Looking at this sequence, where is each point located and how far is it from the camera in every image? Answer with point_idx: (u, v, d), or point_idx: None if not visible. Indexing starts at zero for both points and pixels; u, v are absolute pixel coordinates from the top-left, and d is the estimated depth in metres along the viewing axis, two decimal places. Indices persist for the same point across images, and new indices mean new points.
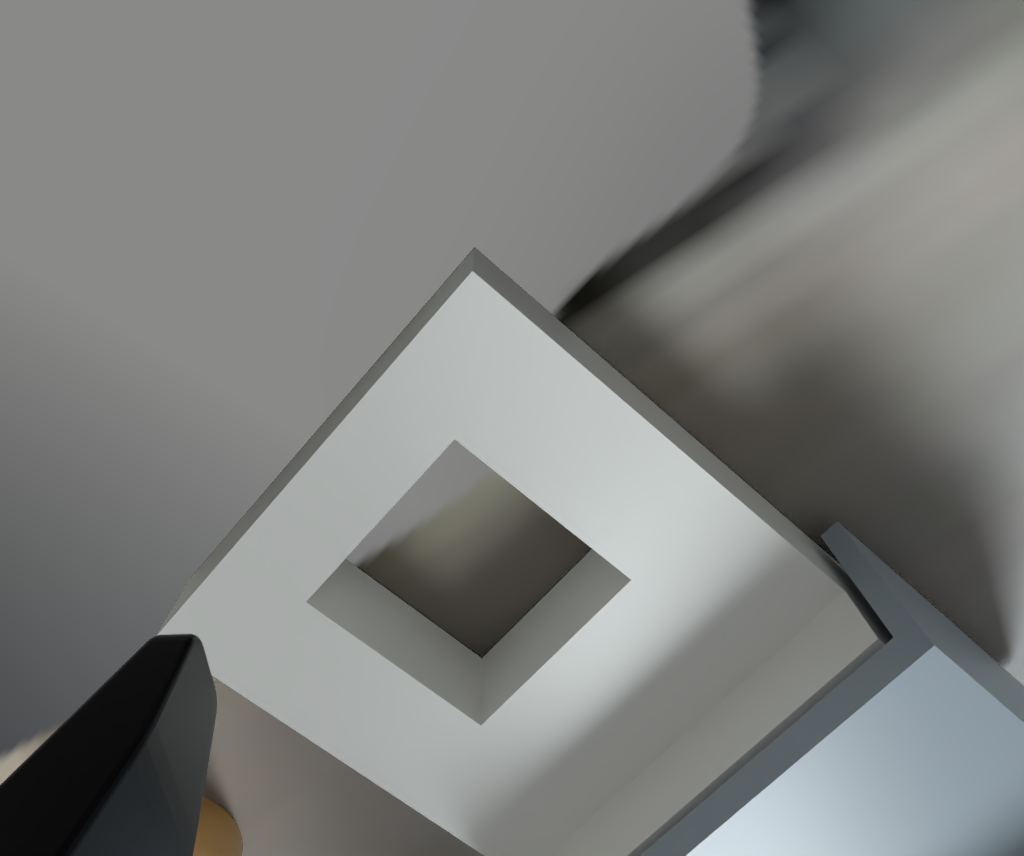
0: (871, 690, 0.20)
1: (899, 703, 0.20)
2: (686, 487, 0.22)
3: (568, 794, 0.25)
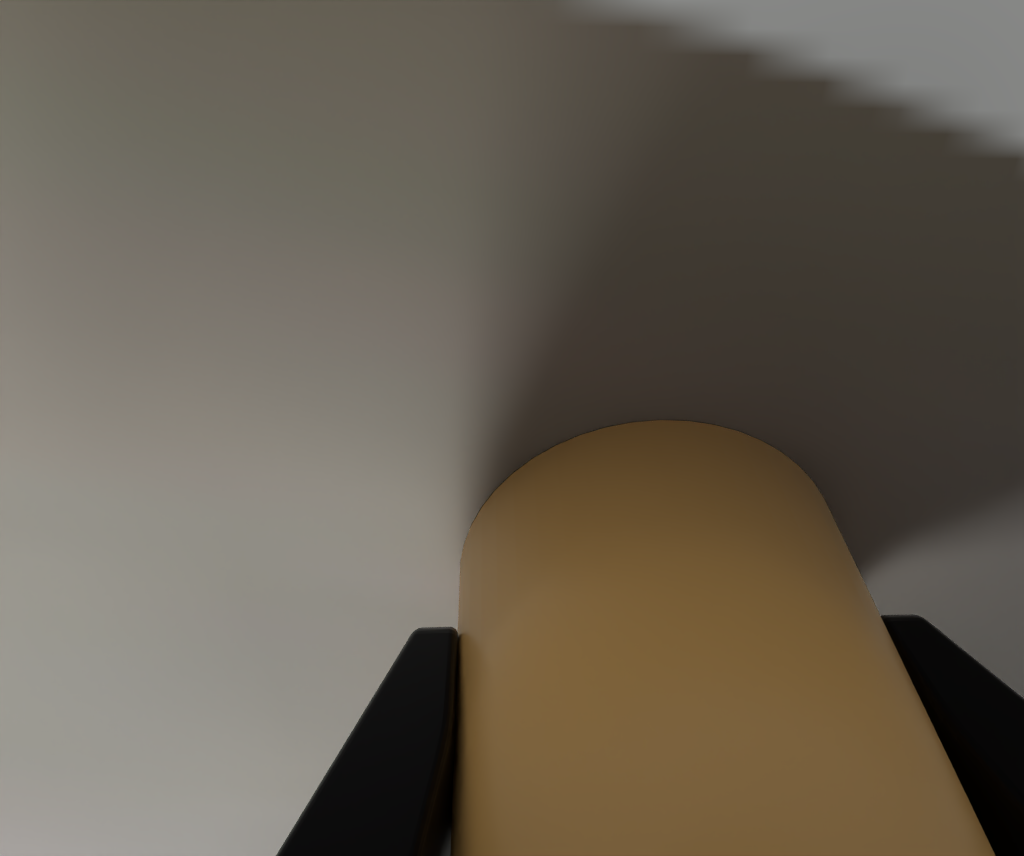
0: None
1: None
2: None
3: None
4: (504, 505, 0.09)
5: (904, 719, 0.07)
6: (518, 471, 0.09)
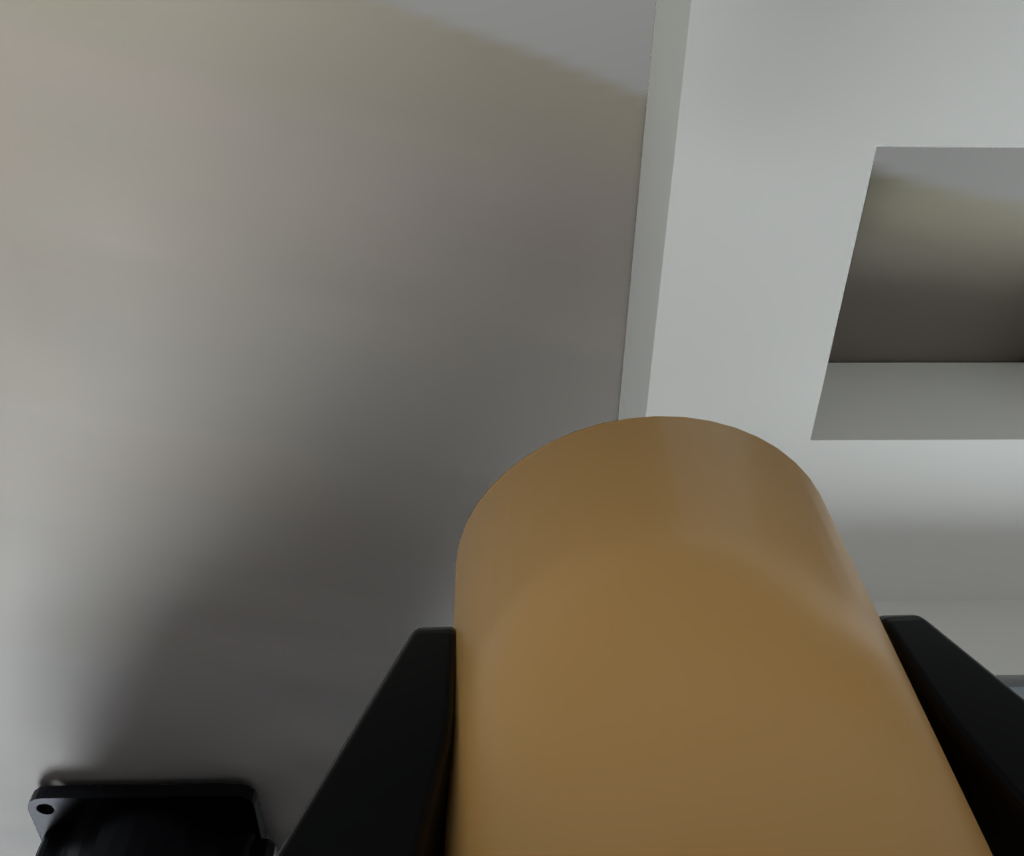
0: None
1: None
2: None
3: None
4: (499, 500, 0.09)
5: (899, 714, 0.07)
6: (514, 467, 0.09)
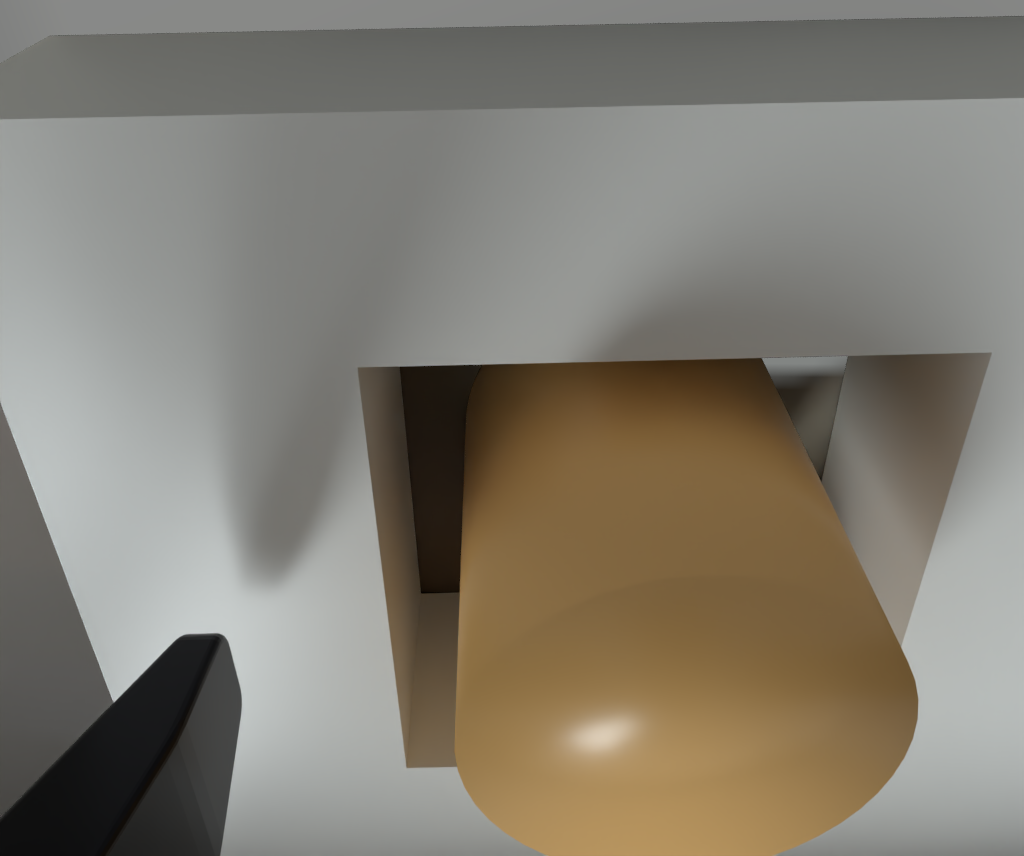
0: None
1: None
2: None
3: None
4: None
5: (798, 472, 0.09)
6: None
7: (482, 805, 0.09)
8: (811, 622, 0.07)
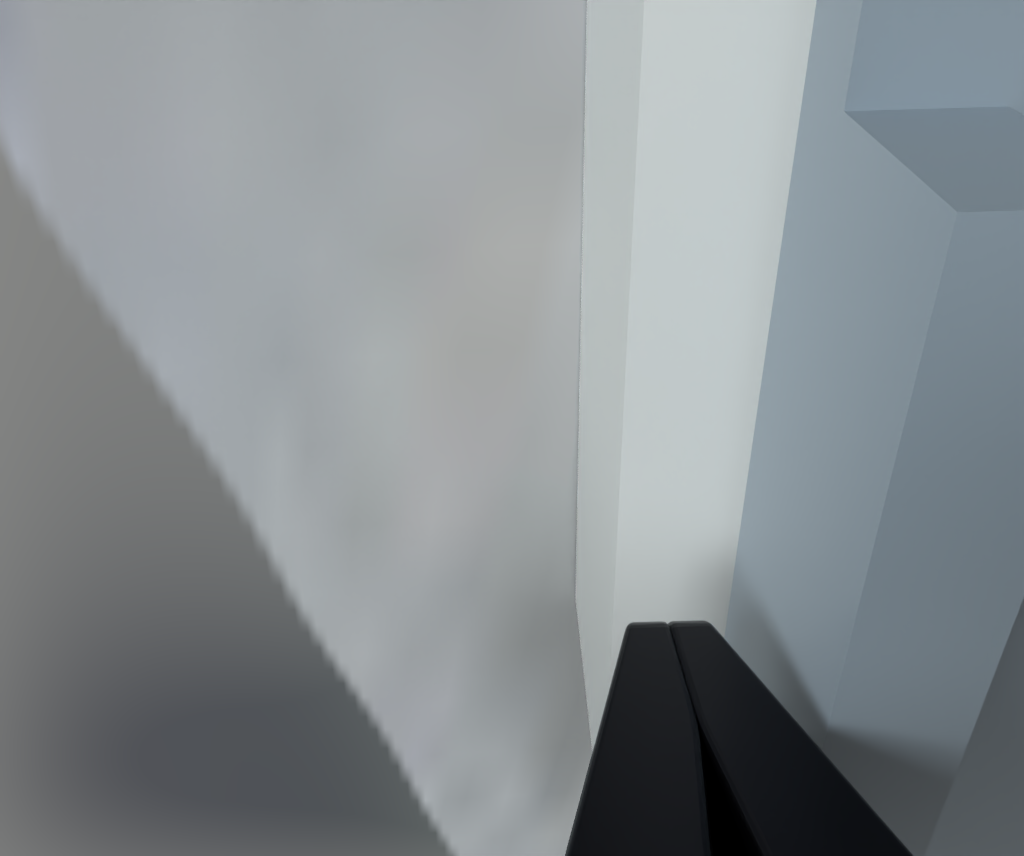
0: None
1: None
2: None
3: None
4: None
5: None
6: None
7: None
8: None
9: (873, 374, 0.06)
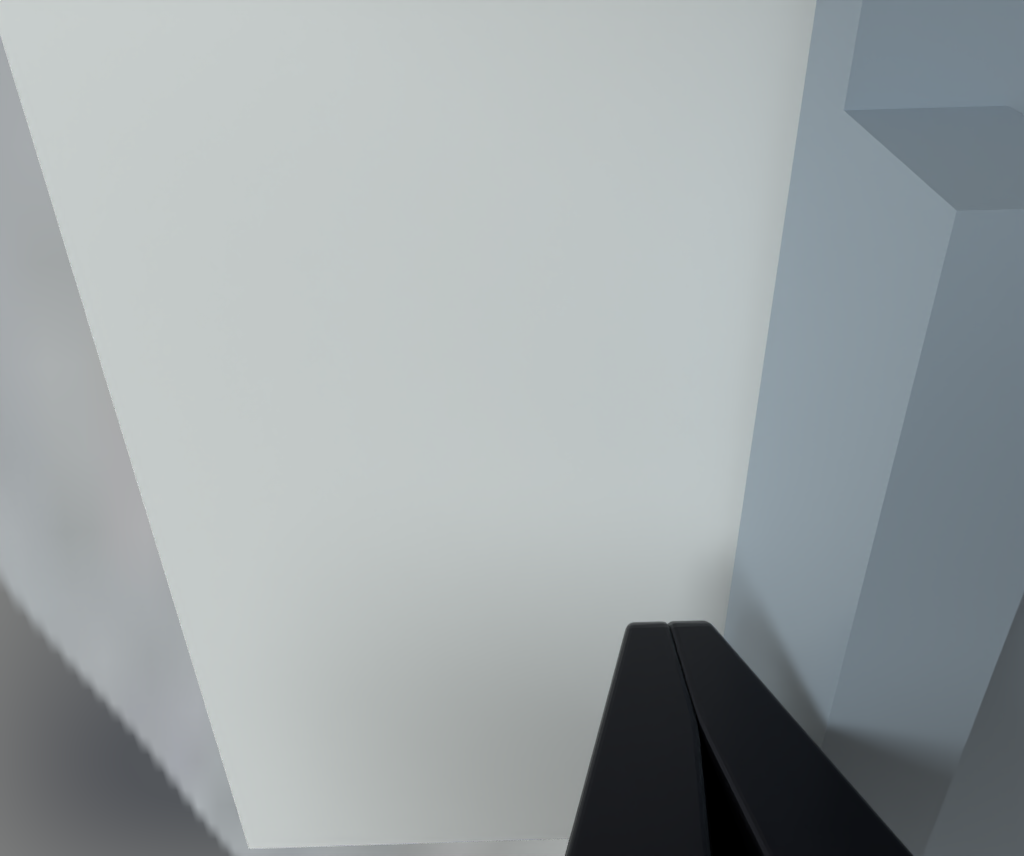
0: None
1: None
2: None
3: None
4: None
5: None
6: None
7: None
8: None
9: (872, 373, 0.06)
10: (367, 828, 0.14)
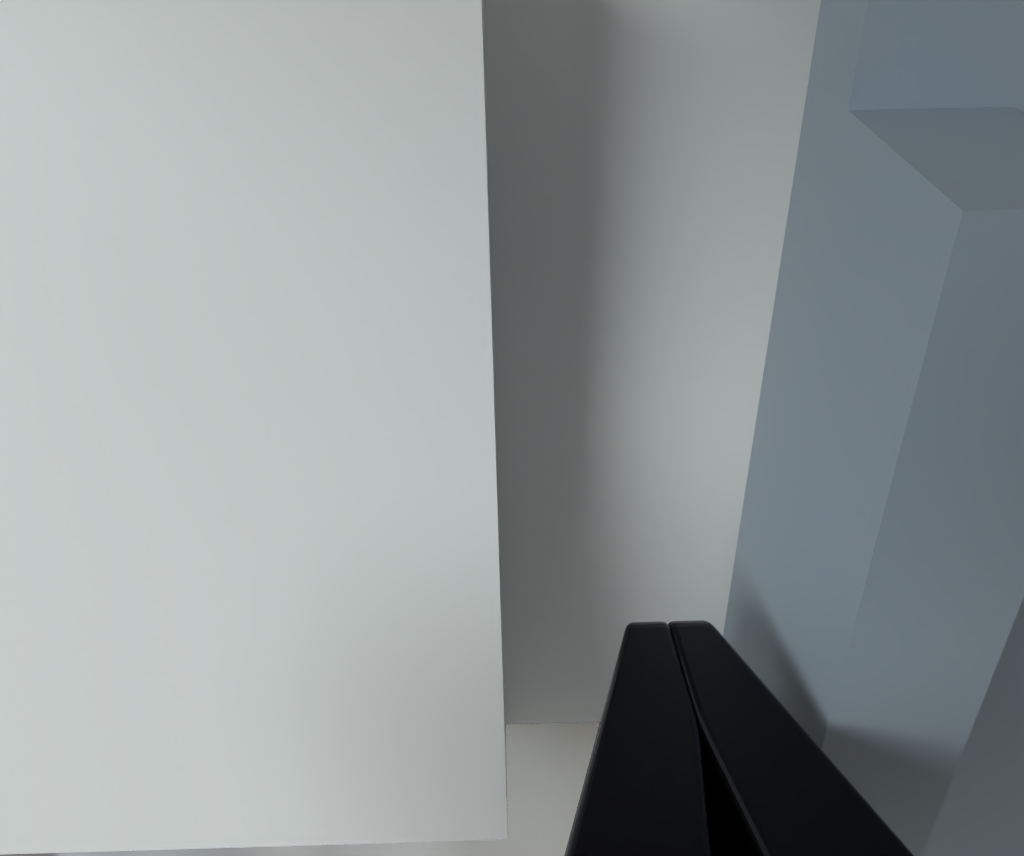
0: None
1: None
2: None
3: (575, 210, 0.11)
4: None
5: None
6: None
7: None
8: None
9: (876, 373, 0.06)
10: (83, 835, 0.14)
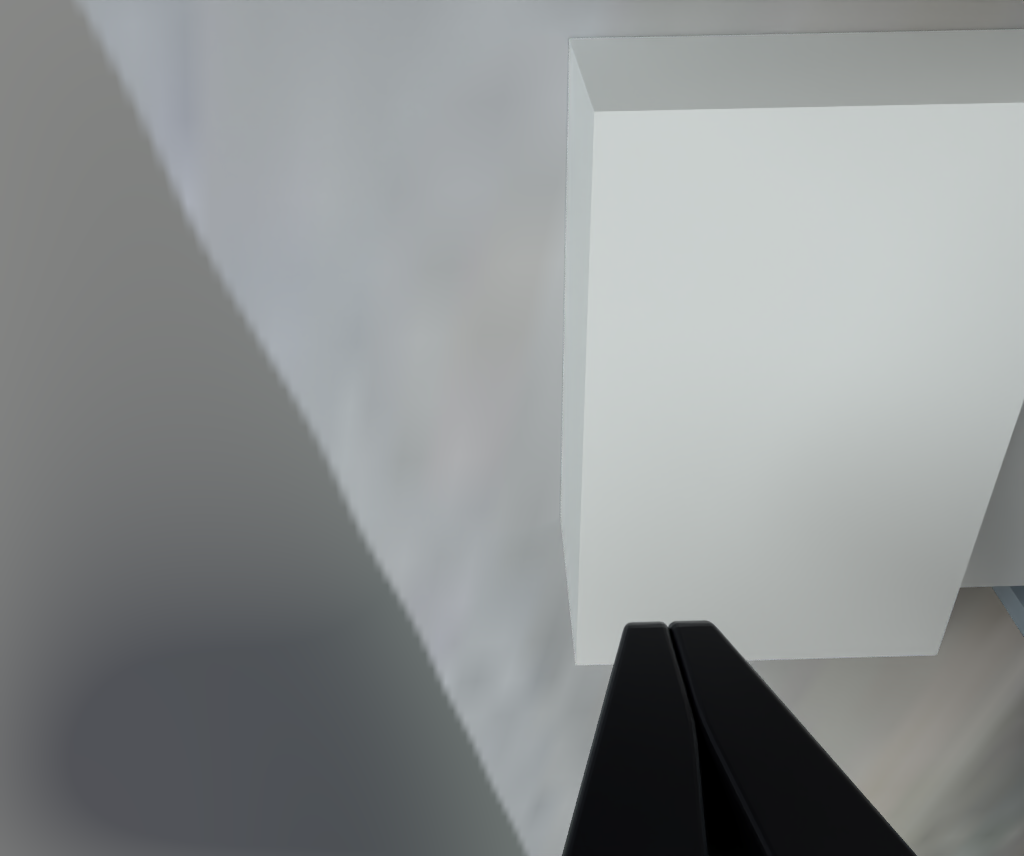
0: None
1: None
2: None
3: None
4: None
5: None
6: None
7: None
8: None
9: None
10: None
